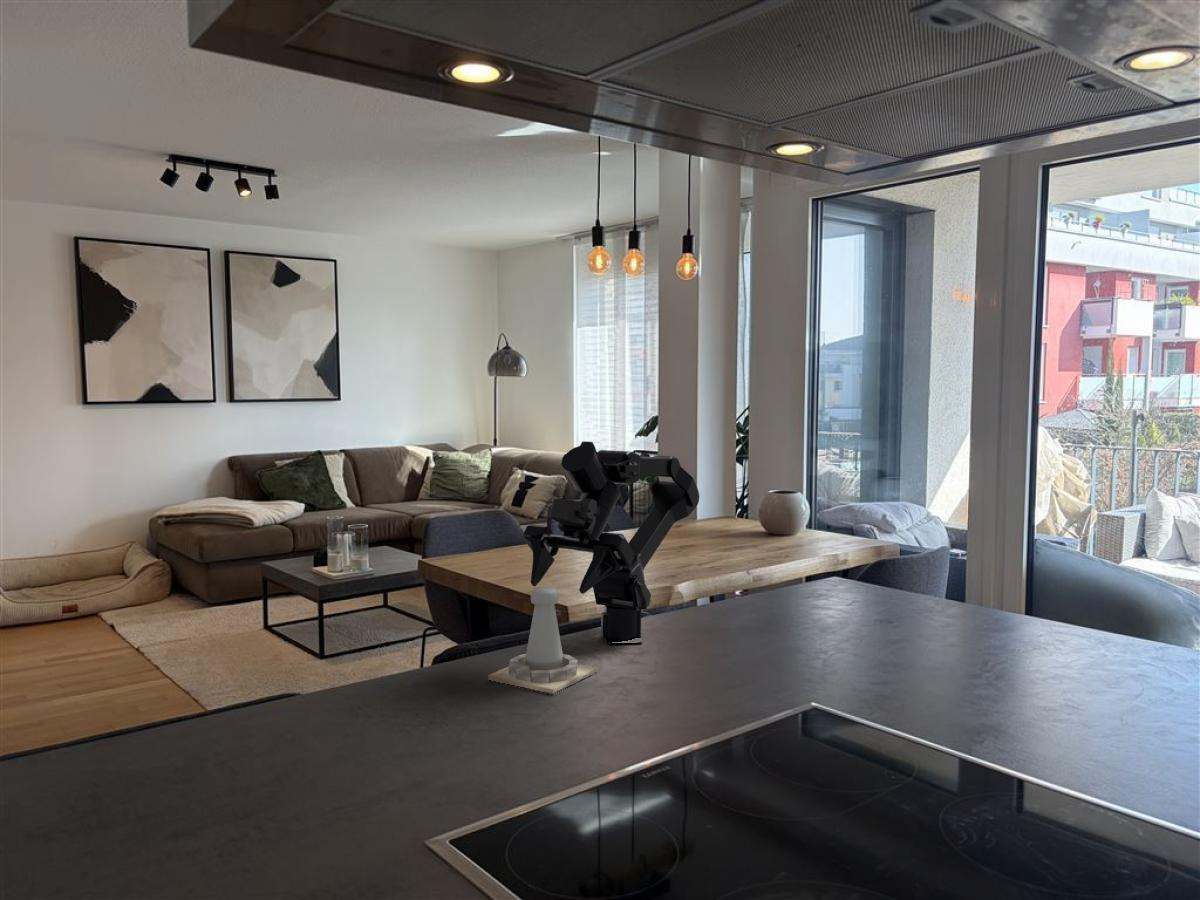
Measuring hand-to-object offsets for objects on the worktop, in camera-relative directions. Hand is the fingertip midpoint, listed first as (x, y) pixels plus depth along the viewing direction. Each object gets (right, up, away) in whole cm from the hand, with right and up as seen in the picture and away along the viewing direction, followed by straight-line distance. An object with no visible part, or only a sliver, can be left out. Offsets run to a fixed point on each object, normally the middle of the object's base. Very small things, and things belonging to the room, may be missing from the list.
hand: (556, 588), depth 137 cm
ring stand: (-2, -13, -2) cm, 14 cm away
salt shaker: (-2, -13, -2) cm, 13 cm away
